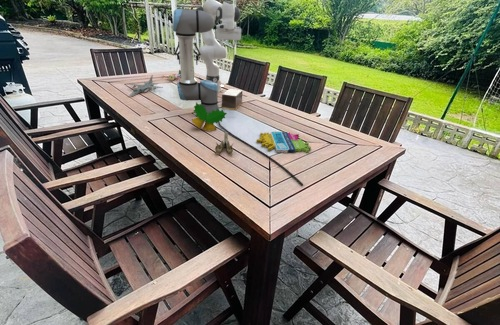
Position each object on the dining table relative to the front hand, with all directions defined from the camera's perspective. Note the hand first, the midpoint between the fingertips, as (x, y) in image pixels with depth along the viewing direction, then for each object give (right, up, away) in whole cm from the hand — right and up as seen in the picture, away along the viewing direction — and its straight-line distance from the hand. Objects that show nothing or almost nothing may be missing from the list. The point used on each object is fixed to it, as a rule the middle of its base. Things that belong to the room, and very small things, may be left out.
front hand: (188, 64), depth 210 cm
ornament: (+24, -58, -45) cm, 77 cm away
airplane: (-43, -16, +20) cm, 50 cm away
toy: (-29, +11, +71) cm, 77 cm away
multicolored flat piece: (+68, -68, -57) cm, 112 cm away
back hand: (+33, +11, -8) cm, 35 cm away
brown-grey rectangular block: (+35, -33, 0) cm, 48 cm away
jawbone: (+36, -73, -71) cm, 108 cm away
